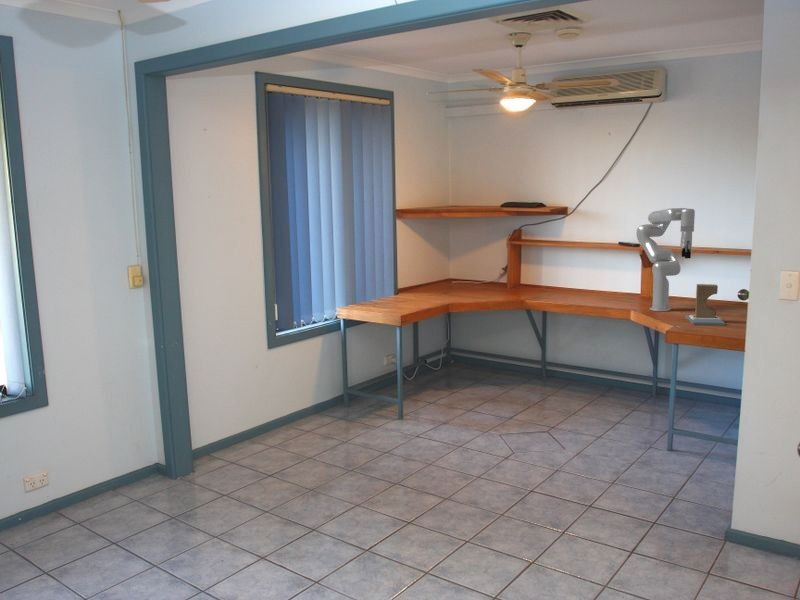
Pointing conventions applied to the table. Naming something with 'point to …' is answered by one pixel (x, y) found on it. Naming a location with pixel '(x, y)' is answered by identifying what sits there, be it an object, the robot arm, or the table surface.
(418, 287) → the table surface
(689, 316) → the board
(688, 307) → the table surface
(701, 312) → the decorative block
